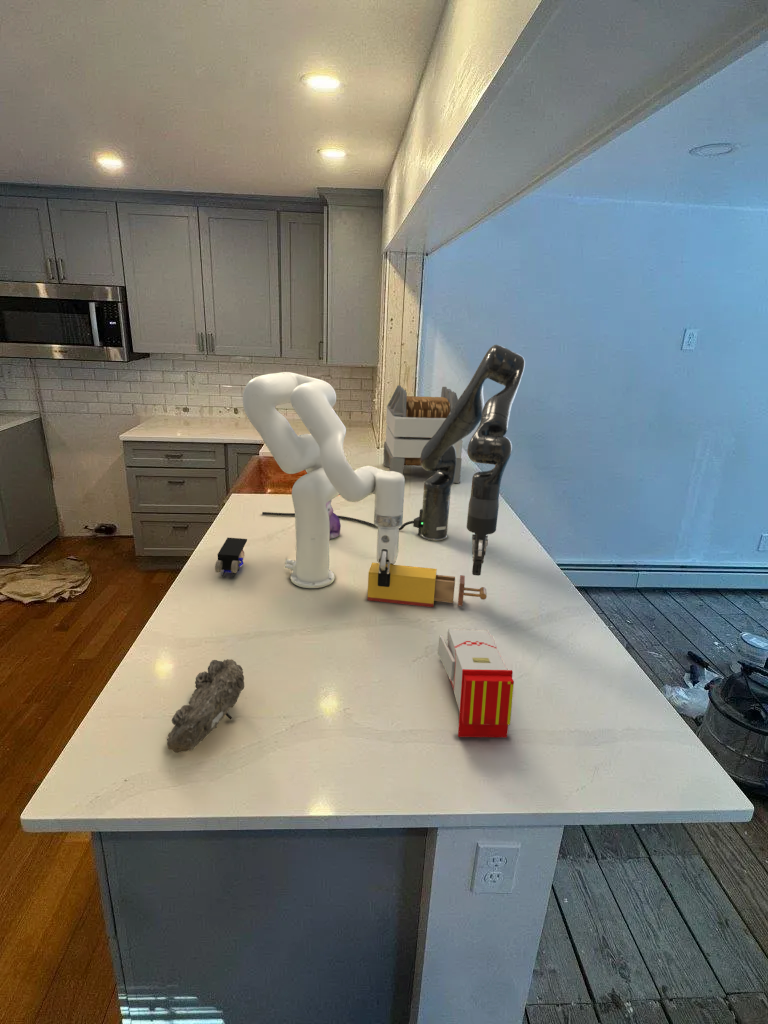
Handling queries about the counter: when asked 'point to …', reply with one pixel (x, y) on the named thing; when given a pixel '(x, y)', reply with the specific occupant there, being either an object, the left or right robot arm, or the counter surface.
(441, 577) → the drawer
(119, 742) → the counter surface
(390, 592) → the cabinet
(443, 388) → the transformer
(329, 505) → the figurine
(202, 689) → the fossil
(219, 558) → the figurine character
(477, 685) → the toy
